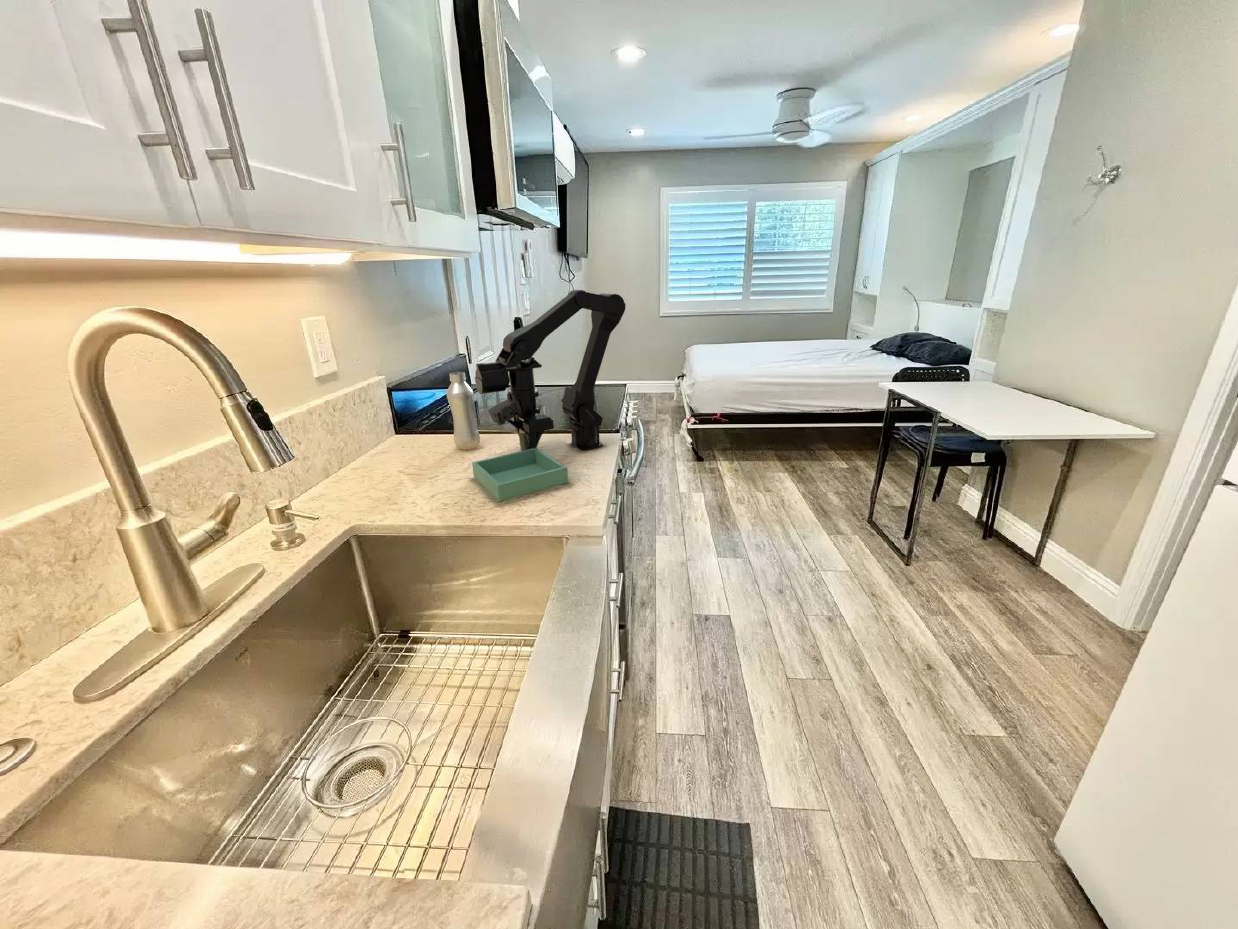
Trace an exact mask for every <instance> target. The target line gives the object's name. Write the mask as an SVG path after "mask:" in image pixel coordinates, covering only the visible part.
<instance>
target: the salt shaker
mask: <svg viewBox="0 0 1238 929" xmlns="http://www.w3.org/2000/svg"><path fill="white" fill-rule="evenodd" d="M518 438H519V448H520V451H524V450H528V449H529V446H528V442H527V438H526V434H525V433H524V432H523V431H522V430H520V429H519V436H518Z"/></svg>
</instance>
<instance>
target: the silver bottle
mask: <svg viewBox="0 0 1238 929" xmlns="http://www.w3.org/2000/svg"><path fill="white" fill-rule="evenodd" d="M466 380H467V377H466V373H465V371H452V372H449V381H450V382H451V383H450V385H449V386H448V388H447V391H446V398H447V401H448V405H449V408H450V412H451V415H452V422H453V442H454V445H455V446H456V447H457V448H458V449H460V450H472V449H475V448H477V447H479V445H480V444H481V436H480V432H479V430H478V427H477V423H476V419H475V410H474V391H473V389H472V388H471V387H470V385H469V384H468V383H467V382H466Z"/></svg>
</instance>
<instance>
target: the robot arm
mask: <svg viewBox="0 0 1238 929" xmlns="http://www.w3.org/2000/svg"><path fill="white" fill-rule="evenodd" d="M626 306H627V305H626V302H625V299H624V298H623V297H622V295H620V294H617V293H609V292H608V293H606V292H603V293H602V292H601V293H599V294H597V293H592V292H588V291H586V290H583V289H572V290H570V292H568V293H567V295H566V296H565V297H563V298H562V299H561V300H559V301H558V302H557V303H556V304H555V305H553V306H552V307H551V308H549V309H548V310H547V311H546V312H544V313H543V314H541V315H540V316H539V317H538V318H537V319H536V320H533V322H531V323H529V324H527V325H525V326H522V327H520V328H517V329H515V330H514V331H512V332H510V333H508V334H506V336H505V337H504V338H503V340H502V348H501V350H500V352H499V354H498V355H497V357H496V359H495V361H494V362H486V363H485V362H479V363H476V364H475V366H476V369H475V376H474V382H475V386H476V390H477V392H478V394H479V395H485V394H492V393H500V392H506V390H507V389H508V388H510V391H508V392H507V393H506V397H507V398H506V399H505V400H503V401H501V402H499V403H497V404H495V405H494V406H492V407H490V408H488V410H487V412H488V415H489V416H490V418H491V420H492V422H493V423H494V424H497V425H498V426H502V425H504V424H506V422H507V423H508V424H510V425H511V426H512V427H514V429H515V431H516V433H517V436H518V437H519V429H520V430H522V431H523V432H524V433H525V434H526V438H527V442H528V446H529V449H533V448H537V449H538V445H539V444H540V439H541V438H542V437H543V433H544V431H549V430H553V429H554V428H555V426H554V425H555V424H554V419H552V418H551V417H550V416H548V415H546V414H544V413H543V414H541V409H540V408H539V407H537V398H538V397H540V395H539V391H536V384H535V373H534V369H540V368H542V367H543V365H542V364H541V363H540V362H539V361H538V360H537V359H536V358H535V357H533V356H534V355H535V354H536V353H537V351H539V349H540V348H541V346H542V344H543V342H544V341H545V340H546V339H547V337H548V336H550V334H552V333H553V332H555V331H556V330H557V329H559V328H560V326H562V325H563V324H565V323H566V322H567V321H568V320H570V319H571V318H572V317H573V316H575V315H576V314H577V313H579V312H580V311H581V310H582V309H583V310H588V311H590V312H591V313H590V318H591V330H590V334H589V337H588V340H587V344H586V347H585V350H584V354H583V357H582V360H581V363H580V367H579V371H578V374H577V377H576V381H575V382H574V384H573V385H572V386H571V387H568V386H565V387H564V393H563V397H562V399H561V400H560V402H561V403H562V405H561V409H562V411H563V412H564V413H563V414H565V415H566V416H567V417H568V418H569V420H570V421H571V422H573V423H572V425H571V426H572V427H571V428H572V429H571V430H570V434H571V442H570V446H572V447H574V448H576V449H578V450H579V451H582V452H585V451H589V450H592V449H596V448H600V447H603V446H604V443H602V442H601V441H600V427H601V426H602V423H603V419H604V418H603V416H601V415H600V414H599V413H598V412H597V411H595V402H596V399H595V398H596V396H595V385H596V382H597V379H598V375H599V372H600V370H601V365H602V362H603V359H604V356H605V353H606V350H607V347H608V344H609V340H610V337H611V334H612V333H613V331H615V329H616V327H617V326H619V324H620V322H621V321H622V318H623V316H624V314H625V312H626Z"/></svg>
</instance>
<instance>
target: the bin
mask: <svg viewBox="0 0 1238 929" xmlns="http://www.w3.org/2000/svg"><path fill="white" fill-rule="evenodd" d="M471 465H472V466H471V467H472V472H473V478H474V479H475V480H477V482H479V483H480V484H481V485H482V486H483V487H484V488H485V489H486V490H487V491H488V492H489V493H490V494H491V495H492V496H493V497H494V498H495V499H496V500H497V501H498V502H505V501H508V500H511V499H514V498H519V497H522V496H526V495H529V494H532V493H536V492H540V491H543V490H546V489H550V488H554V487H558V486H561V485H564V484H568V483H569V472H568V467H567V466H566V465H564V464H563V463H562V462H559V461H558V460H556V459H555V458H553V457H552V456H550V455H548V454H547V453H545V452H544V451H542V450H540V449H539V448H538V447H537V448H533V449H528V450H524V451H521V450H520V451H516V452H511V453H507V454H503V455H497V456H494V457H489V458H486V459H481V460H476V461H472V462H471Z"/></svg>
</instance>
